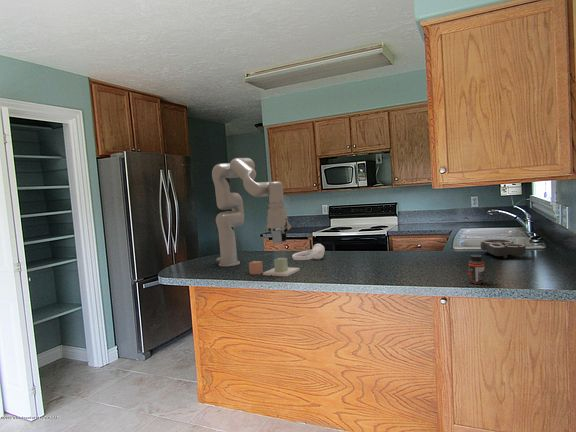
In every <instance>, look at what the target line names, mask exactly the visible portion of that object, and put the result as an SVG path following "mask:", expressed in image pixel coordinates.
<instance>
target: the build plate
mask: <svg viewBox="0 0 576 432" xmlns="http://www.w3.org/2000/svg"><path fill="white" fill-rule="evenodd" d="M273 262H274V263H273V264H274V265H273V266H274V267H273V268H271V269H269V270H266V271H263V273H262V275H263V276H271V275H272V277H273V276H276V277H289V276H291V275H292V274H295V273H297V272H299V271H301V270H300V267H289V266H288V257H278V258H274V260H273Z"/></svg>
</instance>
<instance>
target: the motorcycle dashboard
mask: <svg viewBox="0 0 576 432" xmlns="http://www.w3.org/2000/svg"><path fill="white" fill-rule="evenodd" d="M526 249H527V246H526V245H525V244H524V243H514V241H513V240H511V239H505V238H490V239H485V240H483V241H482V242H480V250H482V251H486V252H487V253H489V254H490V255H493V256H495V257H502V258H503V259H504V260H505V261H506V260H507V258H508V257H509V256H513V257H514V256H517V257H519V256H523V255H524V254H526V253H527V250H526Z"/></svg>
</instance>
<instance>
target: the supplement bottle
mask: <svg viewBox="0 0 576 432" xmlns="http://www.w3.org/2000/svg"><path fill="white" fill-rule="evenodd" d="M482 258H483V257H482V255H481V254H471V255H470V260H468V281H469V283H470V284H472V283H474V284H473V285H482V284H481V283H483V284H485V281H486V275H485V274H486V273H485V272H486V271H485V261H484V260H483V259H482Z"/></svg>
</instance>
